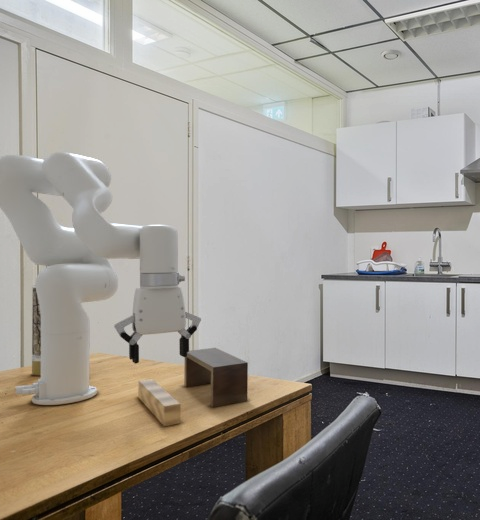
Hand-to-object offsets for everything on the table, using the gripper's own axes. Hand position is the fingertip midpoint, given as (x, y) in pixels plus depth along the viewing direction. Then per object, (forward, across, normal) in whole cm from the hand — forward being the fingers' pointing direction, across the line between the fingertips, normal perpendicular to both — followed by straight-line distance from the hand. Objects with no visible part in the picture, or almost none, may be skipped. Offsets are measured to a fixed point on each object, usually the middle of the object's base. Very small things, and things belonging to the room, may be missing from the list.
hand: (160, 359), depth 102 cm
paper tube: (+10, +17, -53) cm, 56 cm away
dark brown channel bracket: (+11, -14, -6) cm, 18 cm away
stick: (+11, 0, -1) cm, 11 cm away
